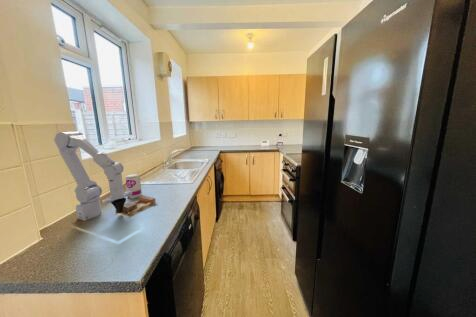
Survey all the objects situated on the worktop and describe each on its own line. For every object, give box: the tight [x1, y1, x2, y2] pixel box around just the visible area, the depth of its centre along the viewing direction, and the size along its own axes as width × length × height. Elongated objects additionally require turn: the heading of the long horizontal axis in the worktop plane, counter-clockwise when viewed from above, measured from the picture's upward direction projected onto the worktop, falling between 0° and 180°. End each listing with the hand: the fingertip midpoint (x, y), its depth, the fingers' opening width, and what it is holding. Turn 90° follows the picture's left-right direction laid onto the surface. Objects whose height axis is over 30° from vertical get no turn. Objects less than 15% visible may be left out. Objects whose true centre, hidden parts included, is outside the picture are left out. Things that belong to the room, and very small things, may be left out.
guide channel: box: [112, 195, 158, 218], centre depth 106 cm, size 18×13×4 cm
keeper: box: [123, 201, 137, 213], centre depth 103 cm, size 5×6×4 cm
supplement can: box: [124, 173, 143, 200], centre depth 122 cm, size 8×8×15 cm
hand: (120, 212), depth 98 cm, fingers closed
